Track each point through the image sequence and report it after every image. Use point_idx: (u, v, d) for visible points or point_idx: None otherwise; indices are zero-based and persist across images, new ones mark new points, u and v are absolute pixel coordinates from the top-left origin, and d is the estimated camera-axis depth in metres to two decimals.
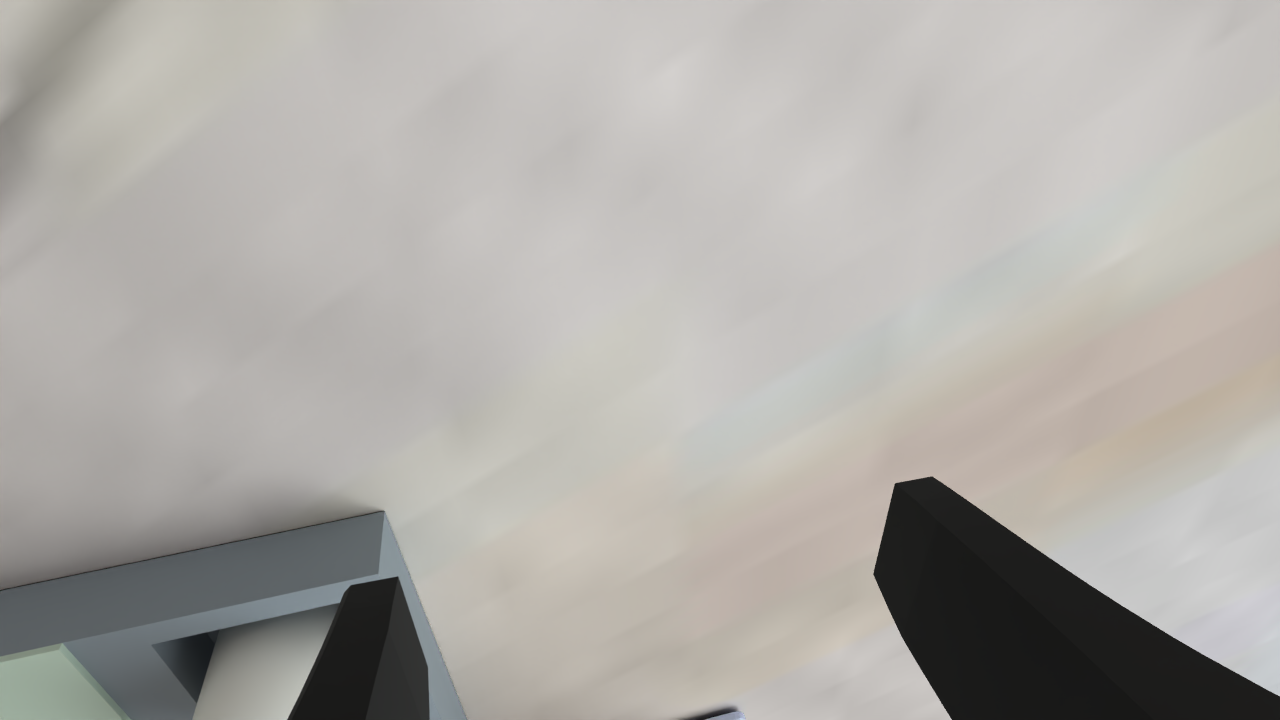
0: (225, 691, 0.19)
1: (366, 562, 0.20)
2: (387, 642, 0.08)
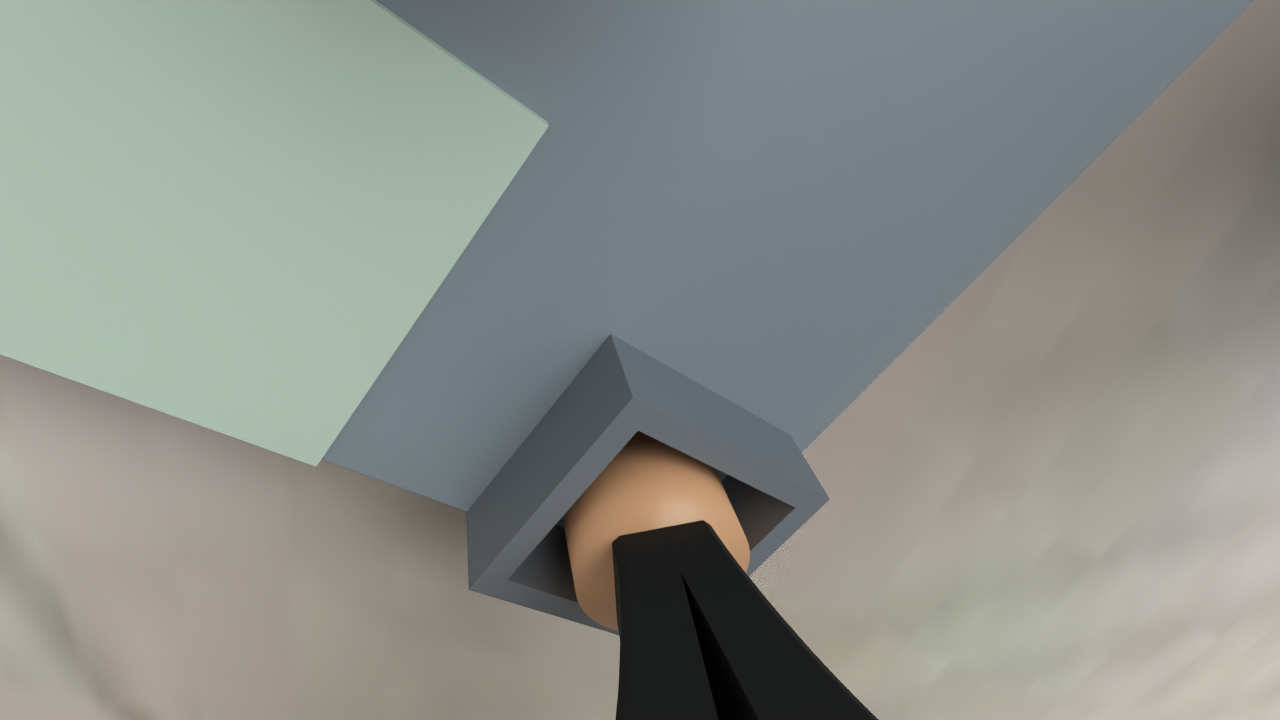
0: None
1: None
2: (682, 583, 0.09)
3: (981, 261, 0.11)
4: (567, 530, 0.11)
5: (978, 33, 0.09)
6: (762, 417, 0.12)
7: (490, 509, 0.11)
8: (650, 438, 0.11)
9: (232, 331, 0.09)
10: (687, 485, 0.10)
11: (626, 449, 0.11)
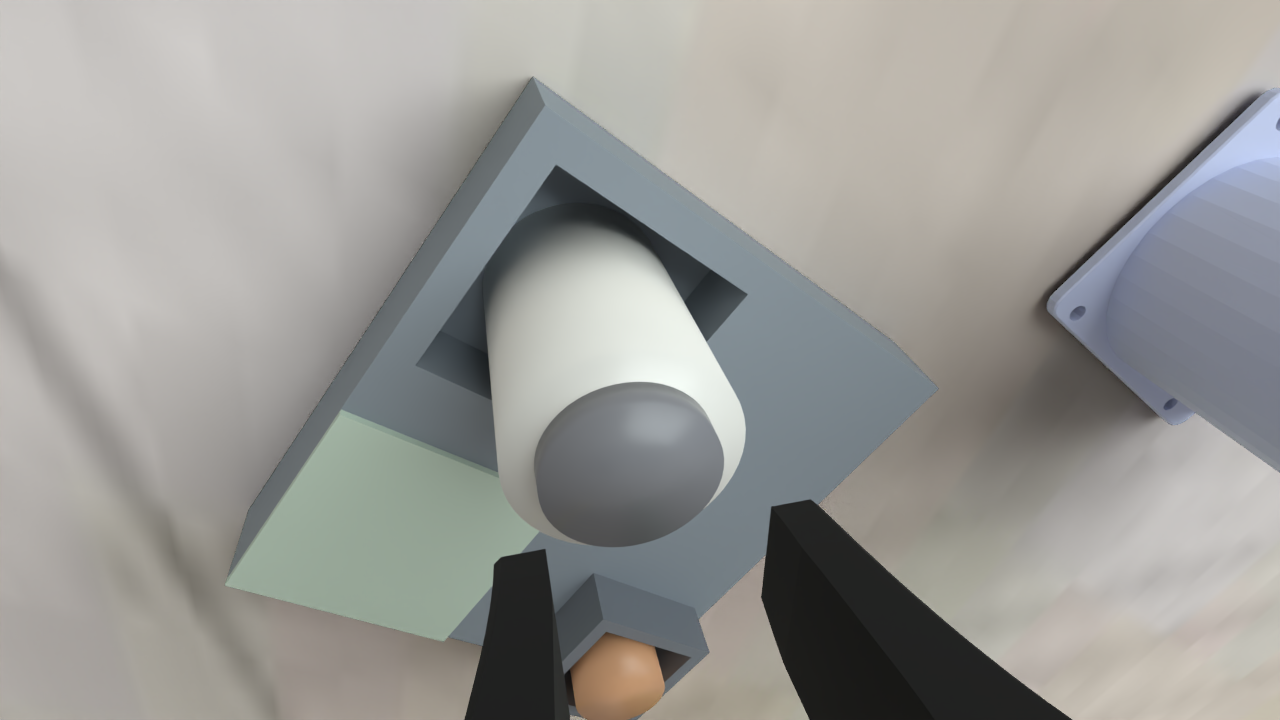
0: (493, 346, 0.14)
1: (531, 114, 0.14)
2: (552, 609, 0.09)
3: None
4: (571, 671, 0.21)
5: (768, 444, 0.19)
6: (677, 601, 0.22)
7: None
8: None
9: (413, 590, 0.19)
10: (631, 652, 0.20)
11: None
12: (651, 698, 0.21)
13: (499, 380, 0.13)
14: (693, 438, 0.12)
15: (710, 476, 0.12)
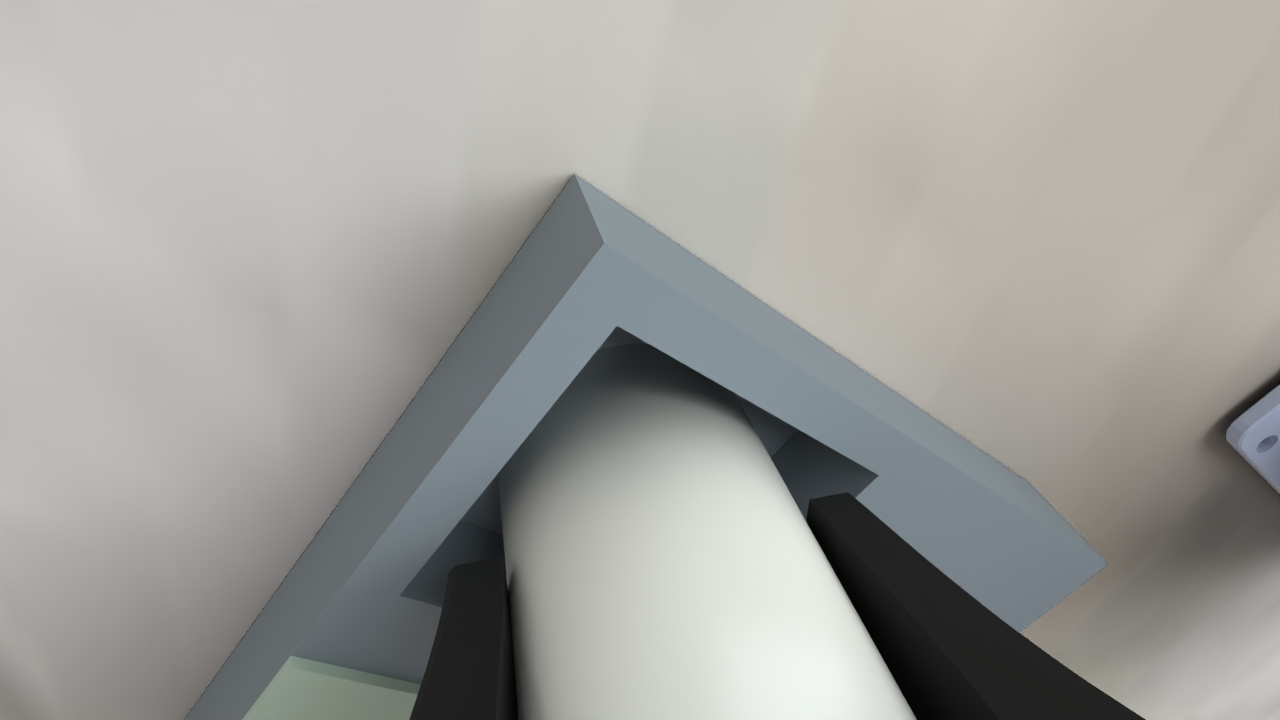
0: (518, 607, 0.09)
1: (579, 248, 0.09)
2: (503, 619, 0.08)
3: None
4: None
5: None
6: None
7: None
8: None
9: None
10: None
11: None
12: None
13: (531, 701, 0.08)
14: None
15: None
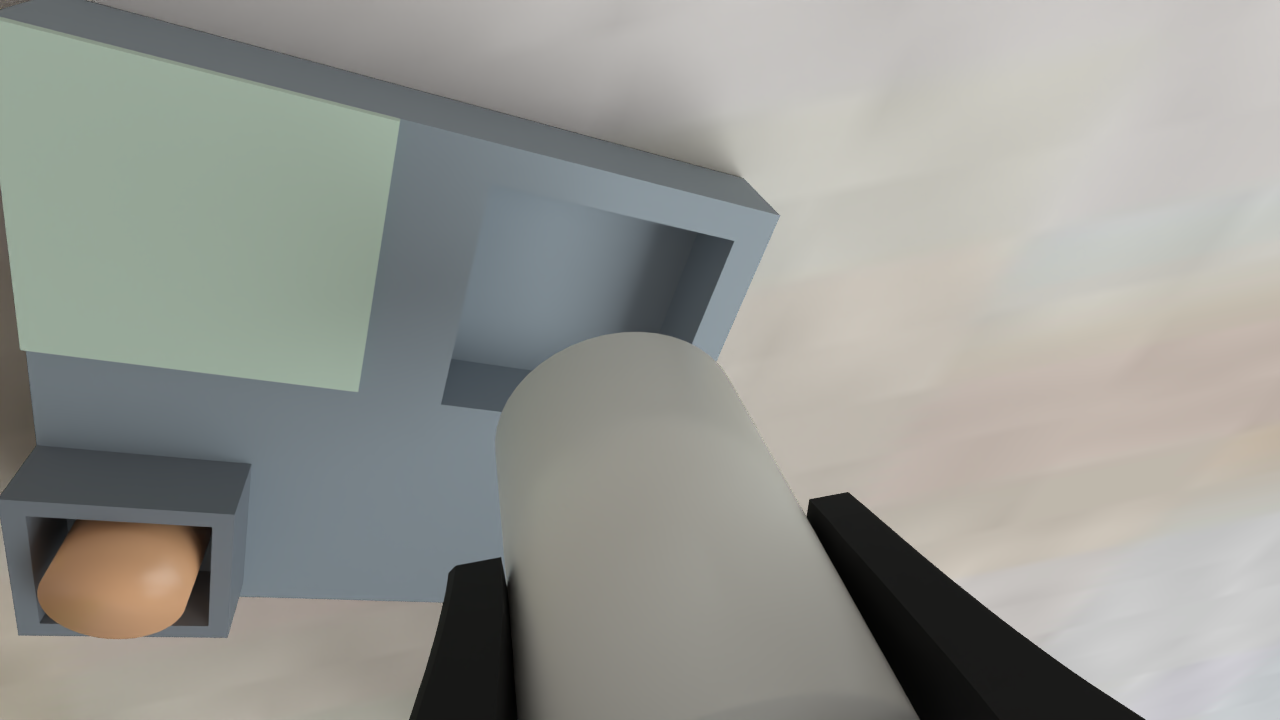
0: (517, 587, 0.09)
1: (757, 203, 0.16)
2: (503, 619, 0.08)
3: (410, 597, 0.20)
4: (94, 523, 0.15)
5: None
6: (245, 563, 0.18)
7: (64, 466, 0.15)
8: None
9: (116, 281, 0.13)
10: (190, 568, 0.15)
11: None
12: (127, 629, 0.15)
13: (529, 676, 0.08)
14: None
15: None
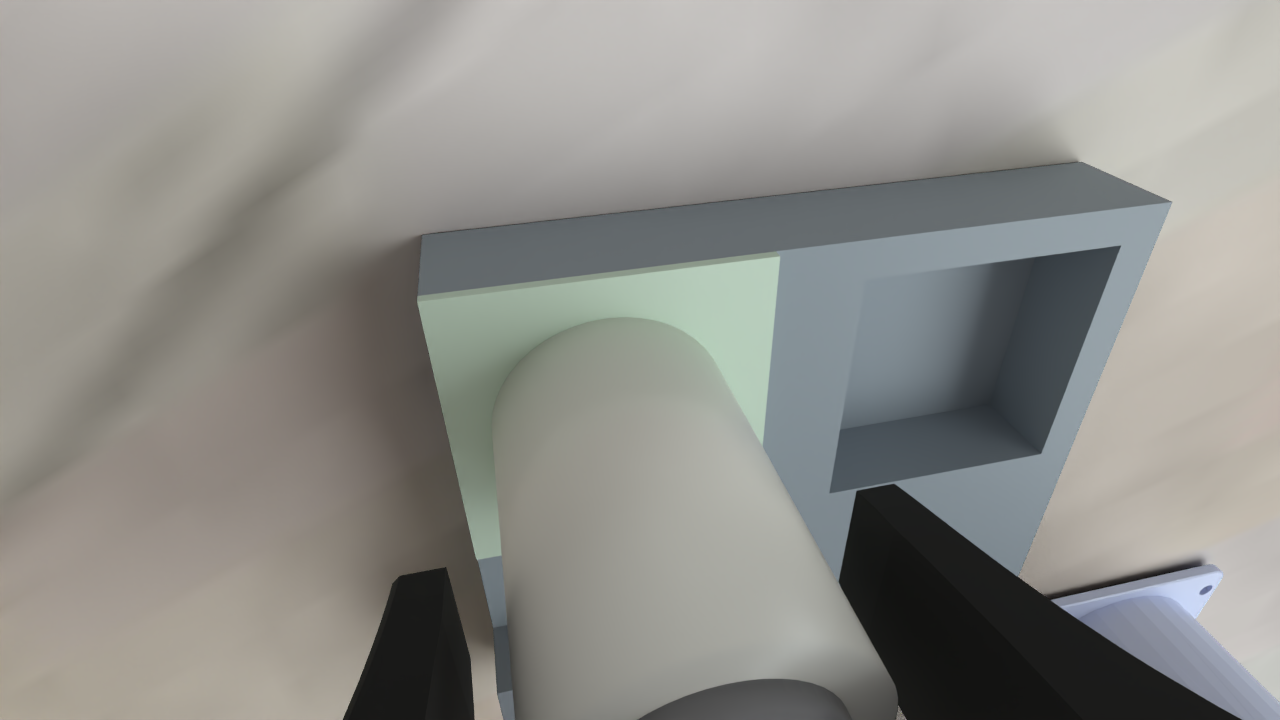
0: (509, 559, 0.10)
1: (1135, 194, 0.14)
2: (441, 631, 0.08)
3: None
4: None
5: None
6: None
7: None
8: None
9: None
10: None
11: None
12: None
13: (519, 640, 0.08)
14: None
15: None
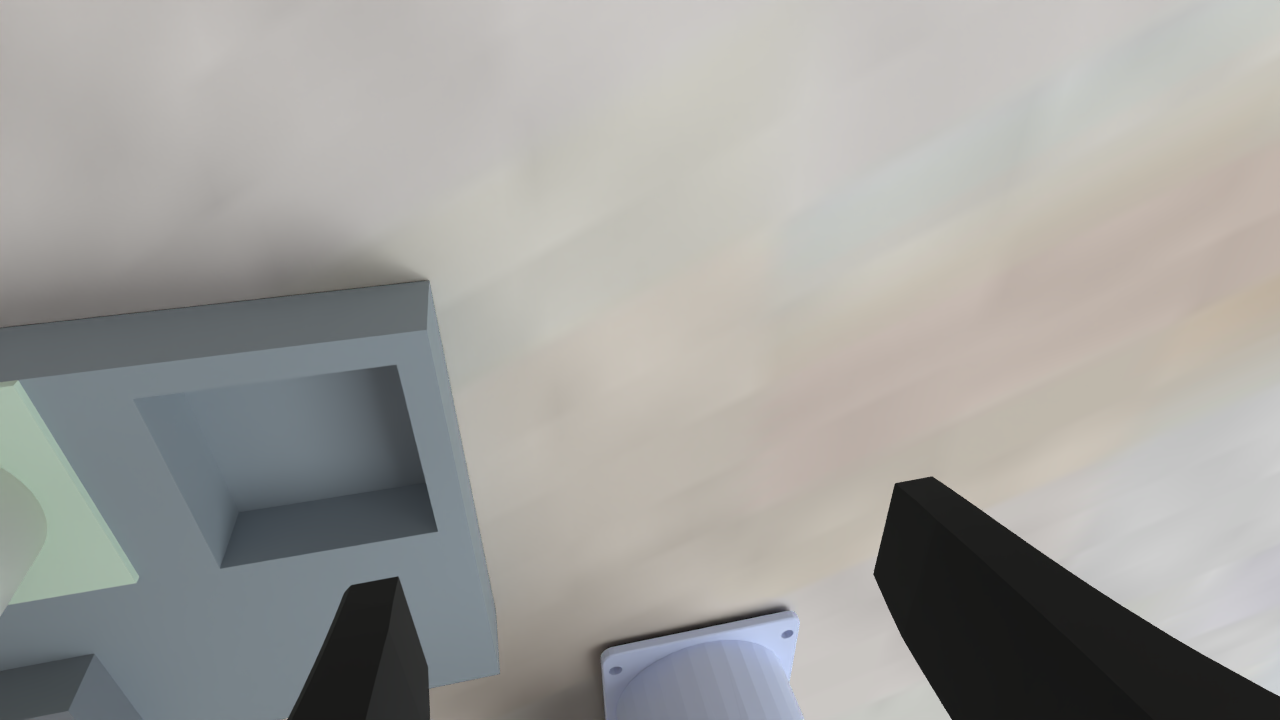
0: None
1: (410, 320, 0.16)
2: (387, 642, 0.08)
3: None
4: None
5: None
6: None
7: None
8: None
9: None
10: None
11: None
12: None
13: None
14: None
15: None
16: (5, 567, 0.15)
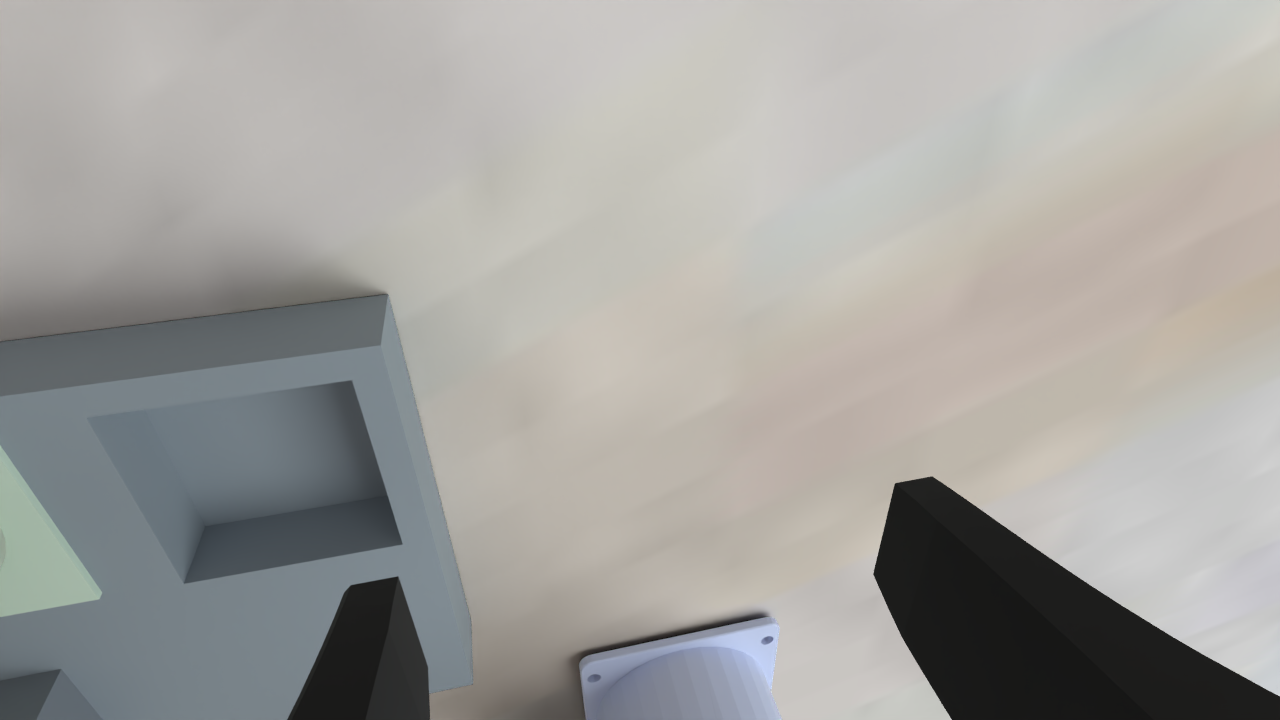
0: None
1: (365, 335, 0.16)
2: (387, 642, 0.08)
3: None
4: None
5: None
6: None
7: None
8: None
9: None
10: None
11: None
12: None
13: None
14: None
15: None
16: None
